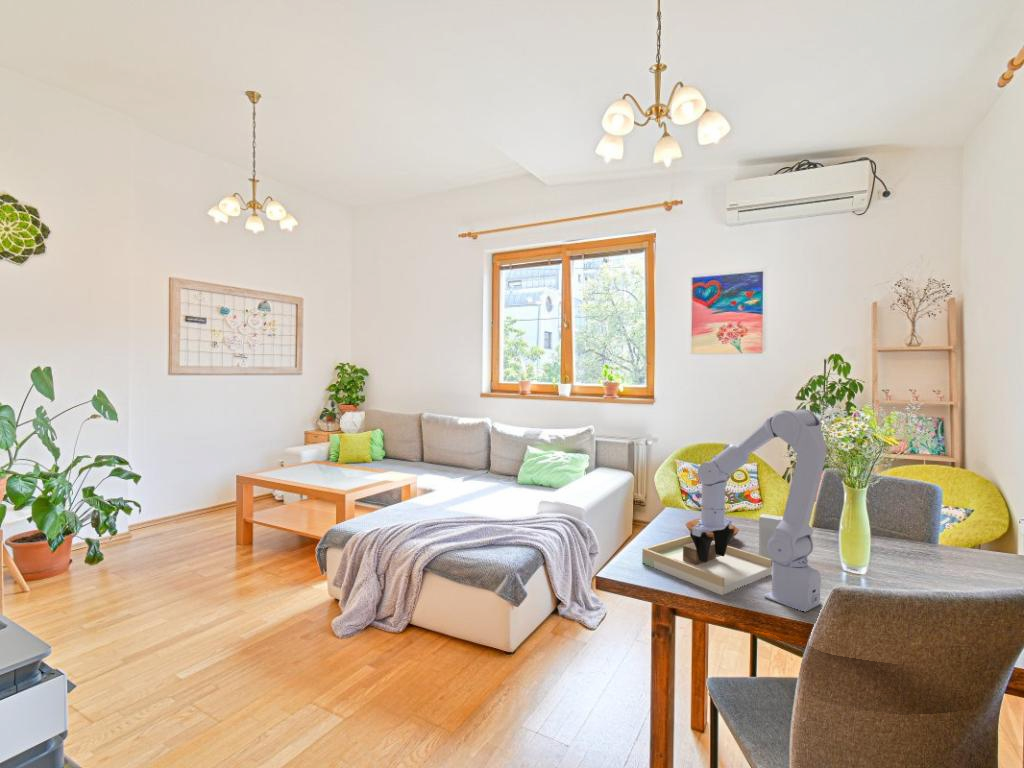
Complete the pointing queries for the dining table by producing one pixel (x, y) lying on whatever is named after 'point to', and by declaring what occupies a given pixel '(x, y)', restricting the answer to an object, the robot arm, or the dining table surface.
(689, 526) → the pie
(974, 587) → the dining table surface
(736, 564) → the shallow cream tray
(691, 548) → the walnut block
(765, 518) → the skincare box
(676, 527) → the dining table surface
